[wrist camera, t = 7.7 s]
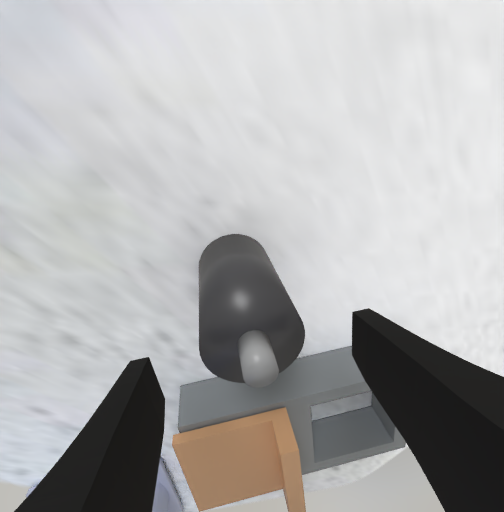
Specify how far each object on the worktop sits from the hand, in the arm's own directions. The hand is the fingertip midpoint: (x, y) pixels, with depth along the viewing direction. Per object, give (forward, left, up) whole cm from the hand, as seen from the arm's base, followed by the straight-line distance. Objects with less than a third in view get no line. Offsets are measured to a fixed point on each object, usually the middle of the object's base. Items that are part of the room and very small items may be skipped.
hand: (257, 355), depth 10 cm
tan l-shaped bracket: (-2, -12, -4) cm, 13 cm away
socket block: (+2, -12, -7) cm, 14 cm away
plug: (0, 0, -7) cm, 7 cm away
